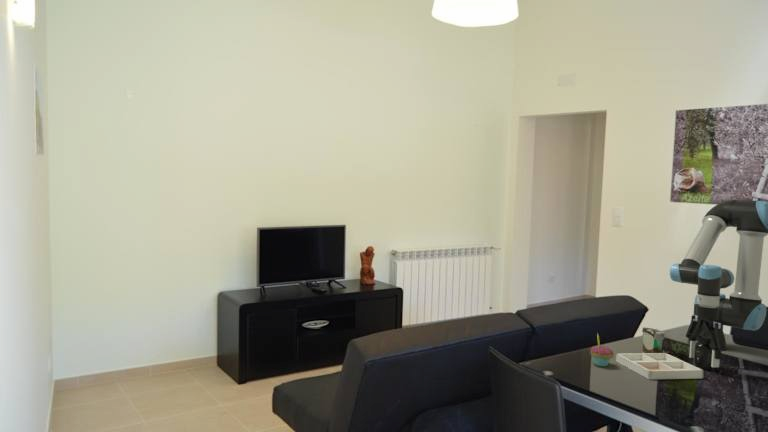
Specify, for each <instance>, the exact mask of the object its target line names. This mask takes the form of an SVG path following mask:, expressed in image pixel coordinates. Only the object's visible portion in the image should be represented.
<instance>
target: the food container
mask: <svg viewBox="0 0 768 432" xmlns="http://www.w3.org/2000/svg"><path fill="white" fill-rule="evenodd" d="M641 333H642V343H641V344H642V347H641V348H642V349H641V350H642V352H641V353H662V350H663V348H662V347H663V342H664V341H663V340H664V339H665V338H666V337H665V332H664V331H662V330H660V329H657V328H651V327H642V330H641Z"/></svg>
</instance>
